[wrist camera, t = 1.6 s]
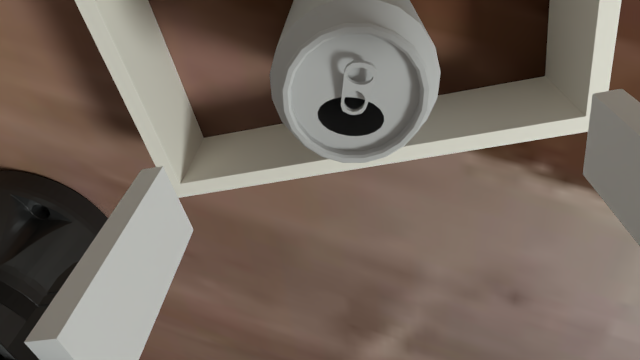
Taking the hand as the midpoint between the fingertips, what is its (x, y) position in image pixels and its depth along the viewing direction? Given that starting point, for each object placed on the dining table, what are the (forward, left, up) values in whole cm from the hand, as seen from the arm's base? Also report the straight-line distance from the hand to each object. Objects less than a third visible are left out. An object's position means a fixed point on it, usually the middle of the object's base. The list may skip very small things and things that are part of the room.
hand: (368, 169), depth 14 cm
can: (0, 0, -17) cm, 17 cm away
